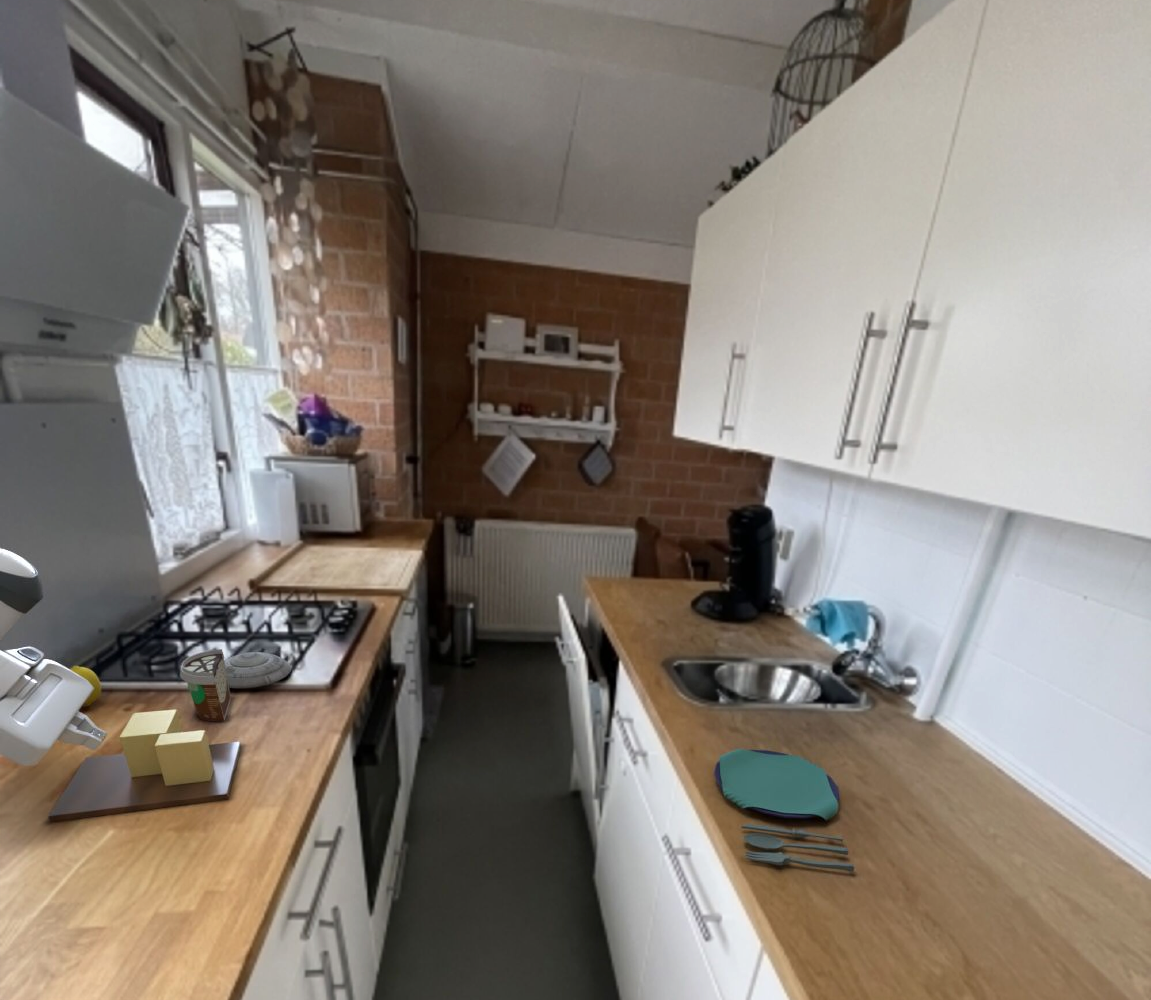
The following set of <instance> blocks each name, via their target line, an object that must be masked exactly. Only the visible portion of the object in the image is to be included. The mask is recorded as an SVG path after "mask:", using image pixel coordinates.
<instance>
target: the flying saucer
mask: <svg viewBox="0 0 1151 1000" xmlns="http://www.w3.org/2000/svg"><path fill="white" fill-rule="evenodd" d="M224 663H225V668H226V674H227V679H228V685H229V689H251V688H252V689H253V688H259V687H264V686H267V685H271V684H274V683H277V682H279V681H281V680H283V679H284V678H286V677H287V676H288V675H289V674H290V673H291V671H292V666H291V665H290V663H289V662H288V661H287V660H285V659H284V658H282V657H281V656H278V655H276V654H273V653H268V652H263V651H250V652H242V653H239V654H235V655H232V656H230V657H228V658H225V659H224Z"/></svg>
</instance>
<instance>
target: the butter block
mask: <svg viewBox="0 0 1151 1000" xmlns="http://www.w3.org/2000/svg"><path fill="white" fill-rule="evenodd" d="M179 715H180V714H179V711H178V709H177V708H176V709H165V710H153V711H142V712H141V711H140V712H133V714H132V715H131V717H130V719H129V720H128V722H127V724H126V726H125V727H124V729H123V730H122V732H121V734H120V736H119V741H120V744H121V747H122V750H123V754H125V758H126V761H127V764H128V767H129V771H130V774H131V777H139V776H147V775H156V774H162V771H161V767H160V764H159V760H158V757H157V753H156V749H155V744H156V742H157V740H158V738H159V736H160V734H169V733H180V732H184V731H183V727H182V723H181V719H180V716H179Z"/></svg>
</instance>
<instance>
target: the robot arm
mask: <svg viewBox="0 0 1151 1000" xmlns="http://www.w3.org/2000/svg"><path fill="white" fill-rule="evenodd" d="M43 599H44V591H43V585H42V581H41V577H40V574H39V572H38V570H37V569H36V567H35V566H34V565H33V564H32V563H30V562H29V561H28V560H27V559H26V558H24V557H22V556H20V555H19V554H17V553H15V552H13V551H10V550H8V549H6V548H3V547H0V642H1V641H2V640H3V639H4V638H5V636H7V634H8V633H9V632H10V631H11V629H13V627H14V626H15V625H16V624H17V623H18V622H19V621H20V619H21V618H22V617H23V616H24V615H26V614H27V613H29V612H30V611H31V610H32V609H33V608H34V607H36V605H37V604H39V602H41V601H42V600H43ZM44 657H45V653H44V652H42V651H41V650H39V649H37V648H36V647H35V646H34V647H33V646H24V647H20V648H14V649H4V650H1V649H0V756H3V757H4V758H6V759H8V760H10V761H11V762H14V763H16V764H18V765H20V766H25V767H36V766H37V765H38V764H39V763H40V762H41V761H42V760H43V759H44V758H45V756H46V755H47V754H48V752H50V750H51V749H52V747H53V746H54V745H55V743H56V742H57V741H60V742H62V743H64V744H68V745H69V744H71V745H76V746H77V745H78V746H83V747H85V748H87V749H89V750H91V751H96V750H98V748H99V747H100V746H101V745H102V744H103V742H104V740H105V739H106V737H107V735H108V732H107V731H106V730H104V729H102V728H100V727H99V726H97V725H96V724H95V723H94V722H93V721H92V720H91V719H90V717H89V716H88V715H87V714H84V713H83V712H80V710H81V708H82V707H83V706H84V705H83V704H84V702H85V701H86V700H87V698H88V697H89V696H90V694H91V693H92V692H93V690H94V688H93V686H92V685H91V684H90V683H89V682H88V681H87V680H86V679H85V678H83V677H81V676H80V675H78V674H77V673H75V672H73V671H71V670H70V669H71V668H68V667H66V666H65V665H63V664H61V663H59V662H56V661H55V660H53V659H48V658H45V659H44Z"/></svg>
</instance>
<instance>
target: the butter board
mask: <svg viewBox="0 0 1151 1000" xmlns="http://www.w3.org/2000/svg"><path fill="white" fill-rule="evenodd" d="M209 749H210V753H211V757H212V762H213V766H214V771H213V774H212V777H211V780H210V781H204V782H195V783H187V784H178V785H170V786H166V785H165V782H164V778H163V775H162V774H156V775H147V776H139V777H131V774H130V771H129V767H128V764H127V761H126V758H125V754H124V753H115V754H107V755H105V754H104V755H95V756H87V757H85V759H84V760H83V762H82V764H81V765H80V766H79V768H78V769H77V770H76V773H74V776H73V777H72V779H71V780H70V782H69V783H68V785H67V787H65V790H64V791H63V792H62V794H61V796H60V797H59V798H58V800H57V802H56V803H55V805H54V807H53V808H52V809H51V811H50V812H49V814H48V816H47V817H48V820H49V822H50V823H54V822H63V821H68V820H78V819H86V818H93V817H100V816H109V815H117V814H124V813H132V812H140V811H147V810H155V809H162V808H170V807H178V806H179V807H180V806H186V805H194V804H201V803H202V804H203V803H209V802H217V801H225V800H229V797H230V794H231V793H230V792H231V789H232V785H233V782H234V777H235V773H236V769H237V765H238V762H239V761H238V760H239V757H240V754H241V753H240V752H241V749H242V743H241V741H231V742H220V743H215V744H214V743H212V744H209Z"/></svg>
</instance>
